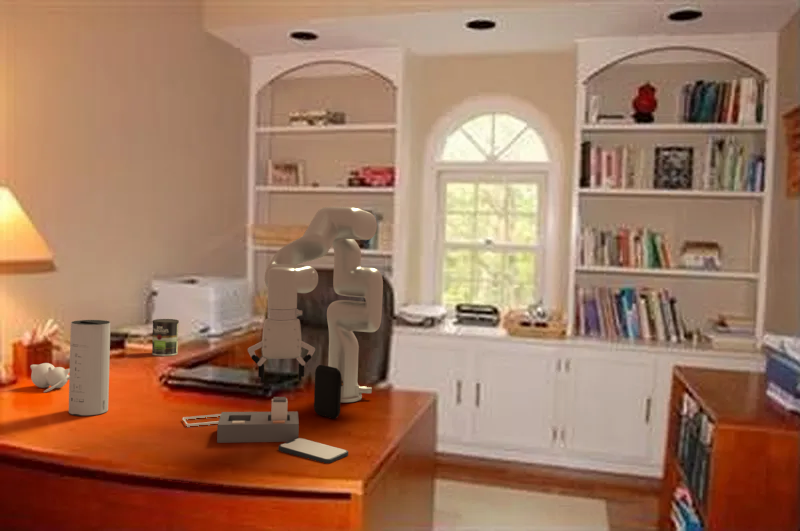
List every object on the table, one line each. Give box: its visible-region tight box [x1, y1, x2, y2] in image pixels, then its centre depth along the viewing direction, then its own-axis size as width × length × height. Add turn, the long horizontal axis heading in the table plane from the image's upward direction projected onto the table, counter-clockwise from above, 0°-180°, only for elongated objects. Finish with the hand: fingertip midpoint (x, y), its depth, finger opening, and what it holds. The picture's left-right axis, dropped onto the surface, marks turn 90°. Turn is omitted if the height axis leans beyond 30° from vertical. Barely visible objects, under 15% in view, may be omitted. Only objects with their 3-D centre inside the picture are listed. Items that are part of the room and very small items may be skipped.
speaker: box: [68, 319, 111, 417], centre depth 192 cm, size 11×10×26 cm
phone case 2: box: [277, 437, 349, 464], centre depth 165 cm, size 9×2×16 cm
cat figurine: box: [29, 362, 70, 393], centre depth 217 cm, size 9×11×12 cm
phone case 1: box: [181, 413, 221, 428], centre depth 188 cm, size 7×1×15 cm
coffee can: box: [151, 318, 180, 357], centre depth 283 cm, size 10×10×14 cm
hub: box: [216, 410, 300, 444], centre depth 177 cm, size 20×12×5 cm, turn 100°
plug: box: [270, 396, 288, 421], centre depth 178 cm, size 4×4×9 cm
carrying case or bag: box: [313, 364, 343, 420], centre depth 196 cm, size 11×3×15 cm, turn 51°
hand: (281, 379), depth 178 cm, fingers open, 9 cm apart
